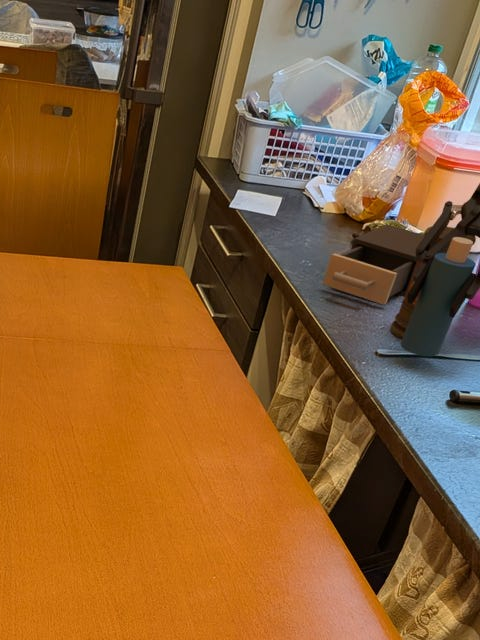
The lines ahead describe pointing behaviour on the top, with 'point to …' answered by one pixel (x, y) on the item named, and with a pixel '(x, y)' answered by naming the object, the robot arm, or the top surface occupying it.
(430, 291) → the bottle
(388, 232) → the cabinet
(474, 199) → the robot arm
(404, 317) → the container
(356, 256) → the drawer
